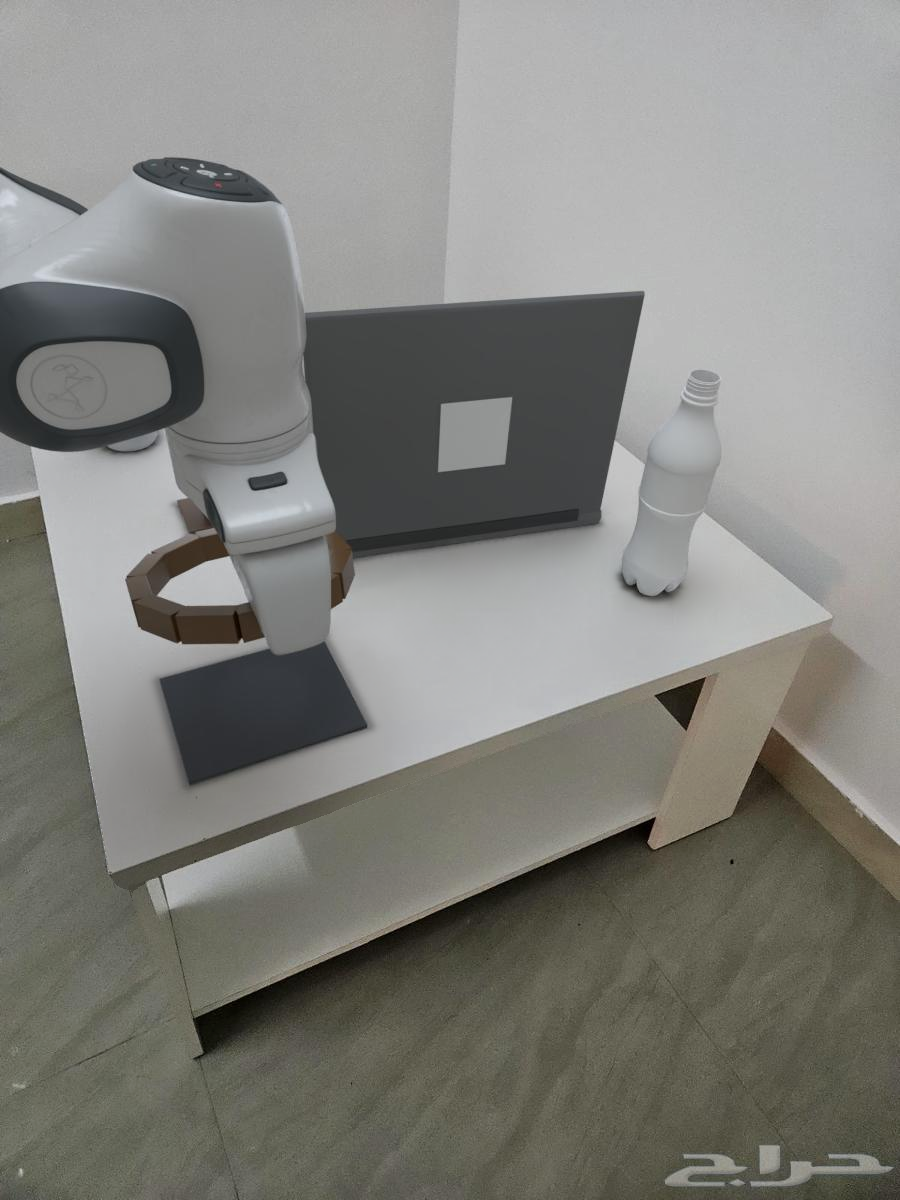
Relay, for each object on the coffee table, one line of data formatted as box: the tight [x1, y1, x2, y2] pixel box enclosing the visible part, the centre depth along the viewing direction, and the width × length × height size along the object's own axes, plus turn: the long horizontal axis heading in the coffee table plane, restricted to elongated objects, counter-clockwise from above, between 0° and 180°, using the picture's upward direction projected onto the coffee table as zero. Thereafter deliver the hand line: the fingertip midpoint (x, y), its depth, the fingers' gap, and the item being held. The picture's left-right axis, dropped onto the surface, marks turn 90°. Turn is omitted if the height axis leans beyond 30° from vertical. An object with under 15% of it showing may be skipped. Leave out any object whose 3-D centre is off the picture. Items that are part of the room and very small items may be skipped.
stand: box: [176, 497, 214, 535], centre depth 97 cm, size 7×7×5 cm
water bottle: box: [621, 368, 722, 597], centre depth 84 cm, size 7×7×25 cm
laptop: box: [303, 290, 646, 559], centre depth 97 cm, size 35×28×28 cm
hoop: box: [124, 528, 356, 645], centre depth 67 cm, size 18×18×2 cm
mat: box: [159, 640, 368, 786], centre depth 76 cm, size 16×13×1 cm
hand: (265, 613), depth 60 cm, fingers closed on hoop, 2 cm apart
